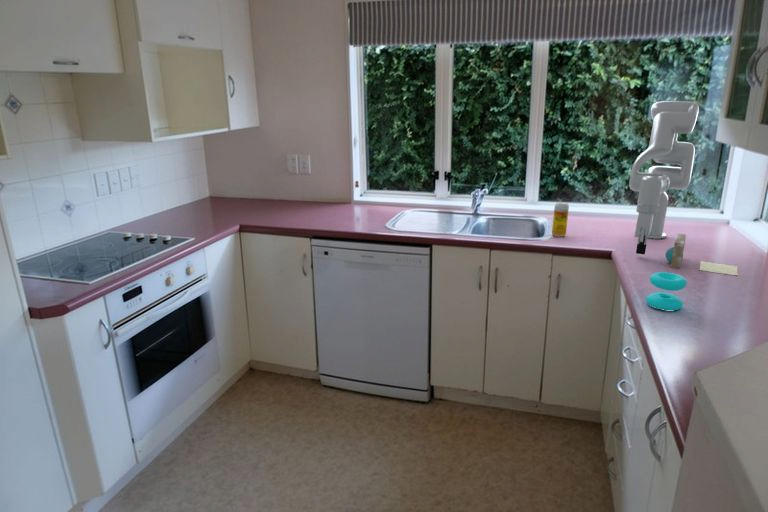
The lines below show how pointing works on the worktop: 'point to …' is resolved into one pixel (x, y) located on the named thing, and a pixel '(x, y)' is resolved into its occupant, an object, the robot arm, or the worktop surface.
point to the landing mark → (718, 268)
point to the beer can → (560, 219)
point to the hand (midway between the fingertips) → (640, 253)
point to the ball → (670, 254)
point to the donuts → (666, 283)
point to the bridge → (678, 250)
